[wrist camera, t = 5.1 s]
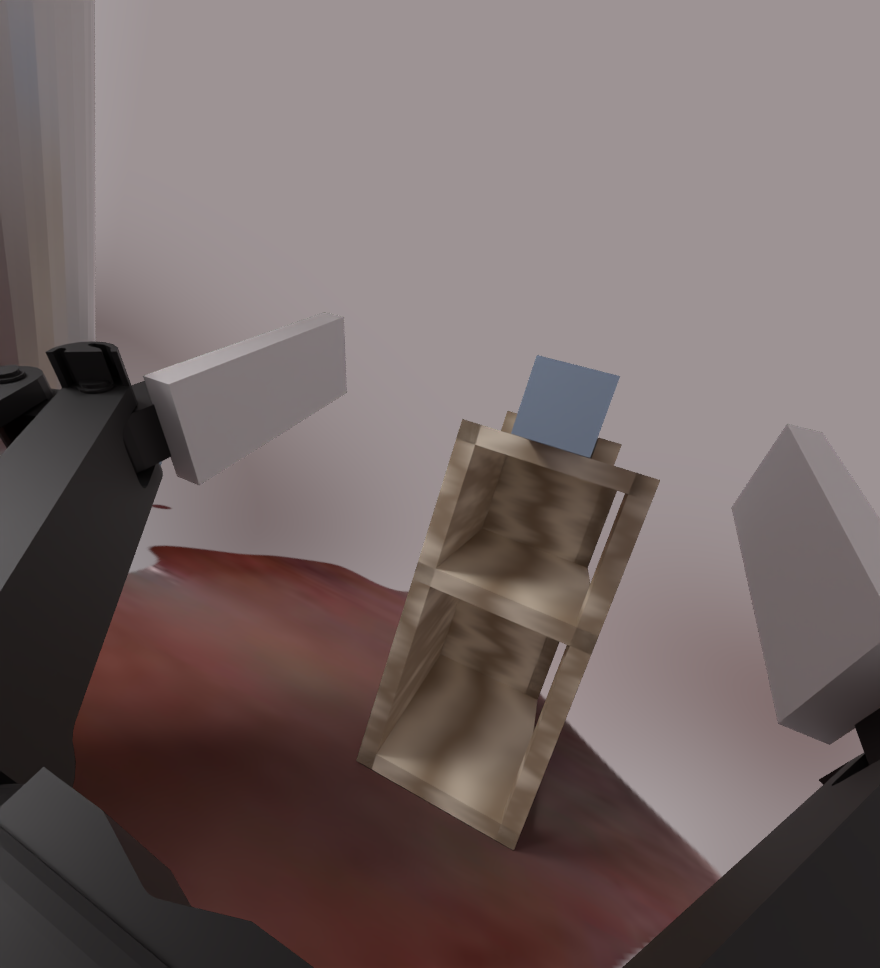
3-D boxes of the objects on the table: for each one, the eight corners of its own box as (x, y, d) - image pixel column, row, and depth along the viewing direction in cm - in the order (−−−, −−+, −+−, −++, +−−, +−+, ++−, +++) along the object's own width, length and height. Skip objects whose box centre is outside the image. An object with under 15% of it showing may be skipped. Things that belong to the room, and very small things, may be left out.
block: (510, 433, 21) (536, 355, 21) (542, 444, 46) (554, 408, 46) (590, 457, 20) (619, 376, 20) (578, 455, 45) (591, 419, 45)
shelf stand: (356, 760, 36) (468, 399, 31) (430, 654, 55) (506, 420, 50) (513, 850, 32) (668, 458, 27) (534, 703, 51) (628, 456, 47)
